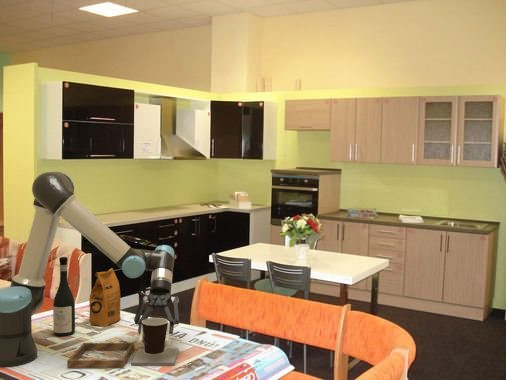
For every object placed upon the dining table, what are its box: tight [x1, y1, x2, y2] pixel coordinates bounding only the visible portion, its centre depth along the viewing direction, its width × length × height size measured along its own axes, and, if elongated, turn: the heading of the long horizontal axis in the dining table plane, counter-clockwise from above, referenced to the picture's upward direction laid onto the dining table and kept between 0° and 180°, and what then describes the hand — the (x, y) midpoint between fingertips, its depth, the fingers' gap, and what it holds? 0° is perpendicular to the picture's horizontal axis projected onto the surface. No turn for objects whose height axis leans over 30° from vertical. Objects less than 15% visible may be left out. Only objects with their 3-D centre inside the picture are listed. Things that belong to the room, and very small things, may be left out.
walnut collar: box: [66, 342, 136, 369], centre depth 183 cm, size 18×18×2 cm
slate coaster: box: [130, 347, 180, 367], centre depth 183 cm, size 14×14×1 cm
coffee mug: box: [142, 317, 169, 354], centre depth 183 cm, size 12×9×10 cm
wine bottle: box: [52, 256, 76, 337], centre depth 210 cm, size 8×8×30 cm
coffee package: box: [88, 267, 121, 328], centre depth 225 cm, size 10×12×22 cm
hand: (154, 342), depth 180 cm, fingers closed on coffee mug, 8 cm apart
